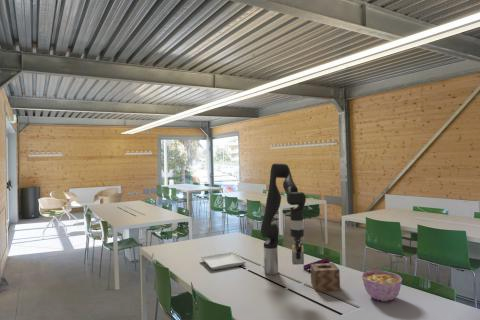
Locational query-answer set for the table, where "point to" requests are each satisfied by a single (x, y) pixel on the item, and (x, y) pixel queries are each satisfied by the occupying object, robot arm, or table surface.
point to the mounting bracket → (317, 262)
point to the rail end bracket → (294, 260)
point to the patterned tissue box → (325, 277)
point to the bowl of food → (382, 284)
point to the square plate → (223, 260)
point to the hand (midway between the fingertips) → (297, 258)
